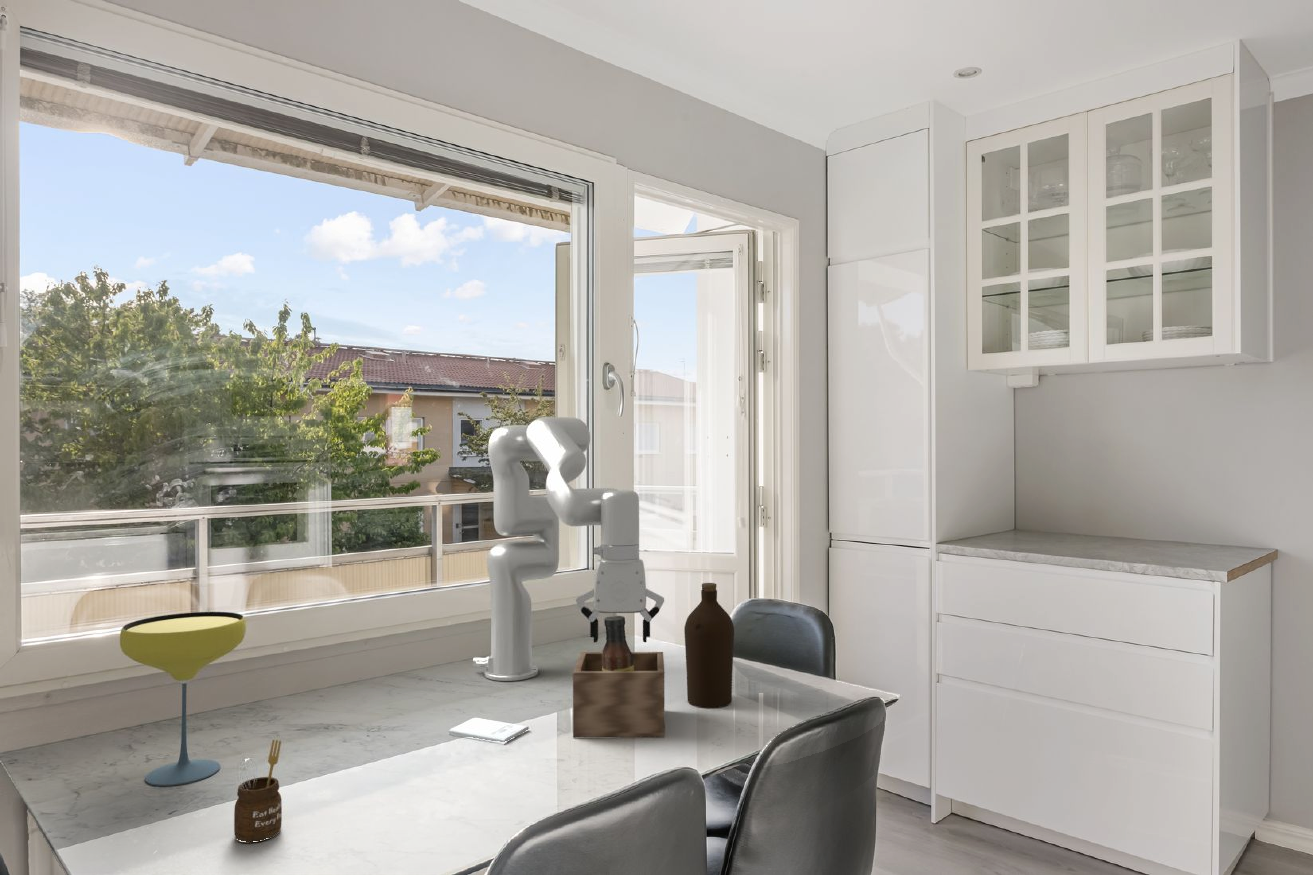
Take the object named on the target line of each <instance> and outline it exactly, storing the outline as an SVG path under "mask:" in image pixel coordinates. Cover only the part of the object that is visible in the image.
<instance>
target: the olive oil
mask: <svg viewBox="0 0 1313 875" xmlns="http://www.w3.org/2000/svg"><path fill="white" fill-rule="evenodd" d="M700 592H701V593H700V596H701V597H700V598H701V599H700V600H701V601H700V603H698V605H697V606H695V608H694V609H693V610H692V611H691V612H690V614H689V615H688V616H687V618H686V620H685V624H684V630H683V631H684V647H685V648H684V649H685V665H686V666H685V668H686V689H687V690H686V691H687V692H686V693H687V694H686V696H687V698H686V699H687V702H688V703H689V704H690V705H691V706H694V707H697V708H698V707H699V708H705V709H714V708H715V709H716V708H718V709H719V708H723V707H727V706H729V705H731V704H732V701H733V699H732V698H733V696H732V695H733V667H734V664H733V663H734V647H735V646H734V642H735V627H734V623H733V620H732V618H731V616H730V615H729V613H728V612H727V611H726V610H725V609H724V608H723V607H722V606H721V604H720V603H719V601H718V590H717V583H714V582H703V583H701V591H700Z"/></svg>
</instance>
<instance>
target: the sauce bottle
mask: <svg viewBox="0 0 1313 875" xmlns="http://www.w3.org/2000/svg"><path fill="white" fill-rule="evenodd" d="M603 620H604V622H603V623H604V626H605V636H606V638H605V639H606V642H605V644H604V647H603V648H602V651H601V652H602V665H603V666H602V671H634V662H633V657H632V653H631V652H632V651H631V649H630V648H629V645H628V642H627V639H626V630H625V629H626V628H625V625H626V618H625V616H623V615H610V616H606V617H605V618H604V619H603Z"/></svg>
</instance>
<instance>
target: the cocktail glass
mask: <svg viewBox="0 0 1313 875" xmlns="http://www.w3.org/2000/svg"><path fill="white" fill-rule="evenodd" d="M246 629H247V624H246V618H245V616H244V615H243V614H240V613H237V612H229V611H197V612H195V611H194V612H193V611H192V612H182V613H172V614H165V615H159V616H152V617H147V618H142V619H139V620H134V621H132V622H128V623H126V624H125V625H123V626H122V628H121V629H120V635H119V645H120V649H121V652H122V653H123V654H124V655H125V656H126V657H128V658H129V659H131V660H132V661H134V662H137V663H139V664H142V665H145V666H148V667H151V668H154V669H158V670H161V671H163V672H166V673H167V674H169V675H170V676H171V677H172V678H173V679H174V680H175V681H176V682H177V683H179V684H180V685H181V690H182V691H181V693H182V694H181V733H180V735H181V736H180V737H181V739H180V751H179V756H178V761H177V762H172V763H169V764H165V765H163V766H160V767H157V768H154V769H153V770H151V771H150V772H148V773H146V776H145V777H144V780H145V783H147V784H148V785H151V786H155V787H175V786H182V785H187V784H191V783H195V782H198V781H199V782H200V781H202V780H204V779H208V778H209V776H210V777H212V776H213V775H215V774H217V773H218V772H219V770H220V769H221V764H220V762H219V761H216V760H213V759H204V758H203V759H202V758H199V759H189V756H188V755H189V754H188V744H187V743H188V742H187V687H188V686H187V684H188V683H190V682H191V681H192V680H193V679H195V678H194V677H195V676H196V675H197V674H198V673H199V672H200V670H201V669H203V668H204V667H206V666H207V665H209V664H211V663H212V662H214V661H217V660H218V659H220V658H222V657H224V656H226V655H227V654H229V653H230V652H232V651H233V650H235V648H237V647H238V646H239V645H241V643H242V642H243V641H244V638H245V635H246V631H247V630H246ZM207 777H208V778H207Z"/></svg>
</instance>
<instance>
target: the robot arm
mask: <svg viewBox="0 0 1313 875" xmlns="http://www.w3.org/2000/svg"><path fill="white" fill-rule="evenodd" d="M590 444H591V432H590V430H589V427H588V425H587V424H586V423H585V422H584V421H583V420H582V419H579V418H577V417H562V416H543V417H539V418H536V419H535V420H533V421H532V422H531V423H529V424H528V425H526V424H513V425H512V424H511V425H505V426H504V425H503V426H500V427H498V428H496V429H495V430H493V432H492V434H491V435H490V437H489V441H488V444H487V445H488V446H487V447H488V448H487V454H488V460H489V464H490V468H491V472H492V477H493V478H492V479H493V524H494V528H495V532H496V533H498V534H499V535H500V536H504V537H522V536H533V540H520V541H519V540H518V541H507V542H502V543H498V544H496V545H495V546H494V545H493V547H491V549H490V550H489V552H488V553H487V557H486V564H487V571H488V578H489V584H490V585H489V586H490V599H491V600H490V601H491V602H490V604H491V605H490V611H491V612H490V615H491V617H490V618H491V619H490V626H491V631H490V634H491V635H490V636H491V637H490V638H491V639H490V641H491V642H490V647H491V648H490V652H491V653H490V655H486V657H481V656H480V657H479V656H478V657H477V656H473V660H472V664H473V666H475V667H476V668H483V667H484V668H486V669H485V670H484V677H485V678H487V679H488V680H492V681H498V682H499V681H500V682H511V681H512V682H513V681H514V682H515V681H522V680H523V681H524V680H527V679H532V678H533V677H536V676H537V675H538V673H539V669H538V667H537V666H536V665H535V664H532V598H531V596H530V593H529V592H528V590H527V589H526V588H525V586H524V585H523V582H526V581H534V580H535V581H536V580H542V579H543V580H544V579H548V578H551V577H553V576H554V575H555V574H556V573H557V571H558V568H559V565H560V564H559V563H560V562H559V561H560V521H561V522H562V523H563V524H565V525H567V526H570V527H584V526H587V527H588V526H600V545H599V546H598V547H593V555H598V556H599V557H600V559H597V561H596V567H595V572H594V573H595V574H594V588H593V589H591V590H590V591H588V592H585V593H584V594H581V595H579V596H577V598H576V599H575V602H576V604H577V606H578V609H579V610H580V612H581V614H582V615H583V616H584V617H586V618H587V620H588V621H589V624H590V626H589V629H590V630H589V637H590V638H593V643H597V642H598V641H599V619H598V617H599V615H601V614H637V613H639V614H640V615H641V616H642V617H643V619H642V642H643V643H647V642H648V641H647V638H651V621H652V619H653V618H654V617H655V616H656V615H658V614H659V612H660V610H661V609H662V606H663V604H664V603H665V597H663V596H662V595H660V594H658V593H656V592H655V591H653V590H651V589H648V588H647V582H646V580H647V579H646V571H645V565H644V561H643V559H640V497H639V494H638V493H637V492H636V491H633V490H628V489H627V490H626V489H625V490H624V489H623V490H620V489H617V488H613V487H599V488H598V487H595V488H592V487H591V488H589V487H588V488H587V487H586V488H573V487H572V486H571V485H570V484H569V483H571V482H572V481H574V480H576V479H577V478H578V477H580V475H581V474H582V473H583V471H584V470H585V468H586V465H587V458H586V455H585V452H586V451H587V449H588V448H589V446H590ZM521 462H541V463H542V464H543V466H544V467H545V469H546V470H547V471H548V474H547V477H546V479H545V480H546V481H545V494H546V496H544V495H532V496H531V494H530V477H529V474H528V472H527V470H526V468H525V467H524V466H523V465H522V463H521ZM592 598H593V607H594V609H593V610H592V611H591V609H590V608H589V607H588V606H587V605H586V601H588V600H590V599H592ZM647 598H648V599H651V600H652V601H655V604H654V606H653V607H652V608H651V609H650V610H648V609H647V608H646V607H647Z"/></svg>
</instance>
